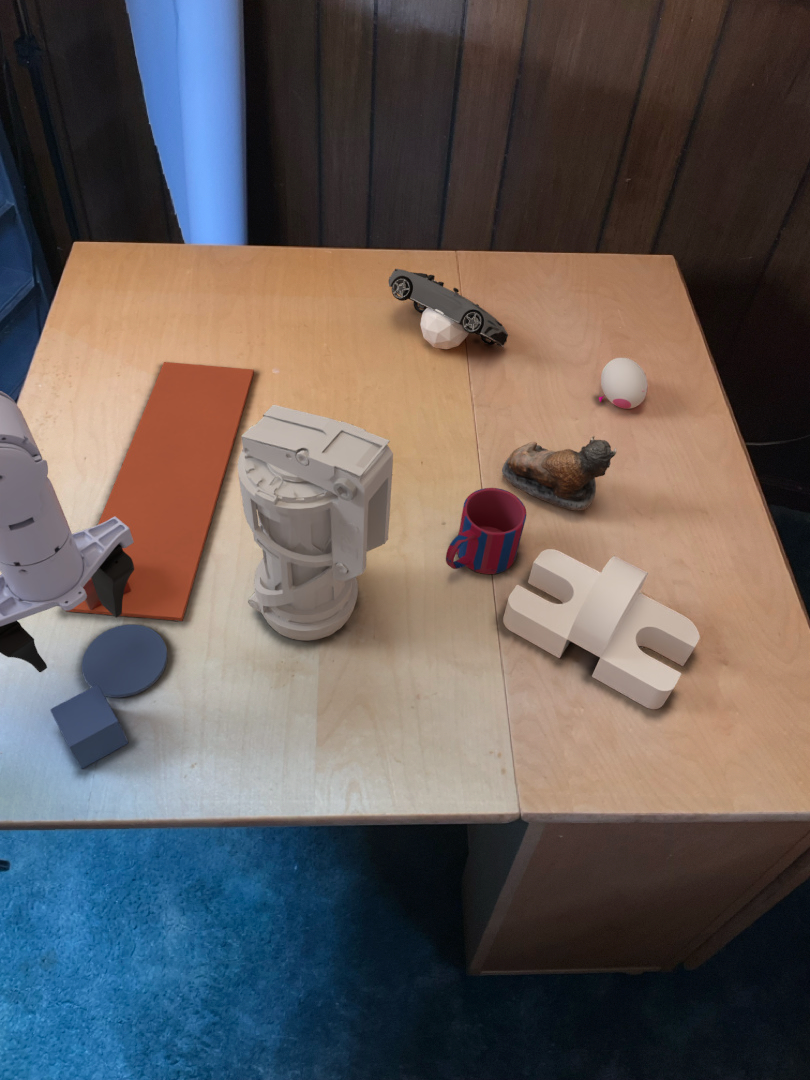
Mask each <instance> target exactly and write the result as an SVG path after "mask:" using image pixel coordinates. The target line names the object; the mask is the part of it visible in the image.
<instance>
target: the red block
mask: <svg viewBox="0 0 810 1080" xmlns="http://www.w3.org/2000/svg"><path fill="white" fill-rule="evenodd" d="M83 589H84V590H85V592H86V594H87V598H86V599H85V600H84V601H85V602H86V604H87V606H88V608H89V609H90V610H92V609H94V608H96V607H99V606H101V605H102V603H101V602H100V600H99V598H98V596H97V593H96V590H95V587H94V584H93V581H92V579H91V578H90V579H89V581H88V582H87V583H86V584H85V586H84V587H83ZM130 591H131V589H130V586H129V584H128V581H127V583H126V586H125V589H124V594H126V593H128V592H130ZM124 594H123V595H124Z"/></svg>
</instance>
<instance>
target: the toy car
mask: <svg viewBox="0 0 810 1080" xmlns="http://www.w3.org/2000/svg"><path fill="white" fill-rule="evenodd" d="M435 277H436V276H435V275H434V274H427V273H423V272H412V271H408V270H405V269H400V268H394V270H393V271H392V273H391V275H390V276H389V277H388V287H390V288H391V294H392V296H393V297H394V298H395V299H396V300H398V301H401V302H404V301H408V300H410V301H412V302H413V304H412V305H413V307H414V309H415V311H416V312H418V313H420V314H421V319H420V323H419V325H420V329H421V333H422V336H423V339H424V340H425V341H427V343H429V344H430V346H431V347H433V348H435V349H441V350H449V349H453V348H456V347H459V346H460V345H461V344H462V342H464V340H466V338H467V337H468V336H469V334H470V335H476V336H480V340H481V342H482V343H484V344H485V345H487V346H494V345H497V346H499V347H500V348H505V344H506V343H507V342H508V341H507V340H508V337H509V334H508V332H507V330H506V328H505V326H503V324H502V323H501V322H500V321H499V320H498V319H497V318H496V317H494V316H493V315H492V314H491V313H489V312H488V311H486V310H485V309H483V308H482V307H481V306H480V305H479V304H478V303H474V302H473V301H471V300H469V299H468V298H466V297H465V296H463V295H461V294H460V293H459V292H460V290H459V288H456V287H453V288H452V289H449V288H446V287H445V286H444V285H445V282H444V281H438V280H435Z"/></svg>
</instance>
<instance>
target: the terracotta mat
mask: <svg viewBox="0 0 810 1080" xmlns="http://www.w3.org/2000/svg"><path fill="white" fill-rule="evenodd" d="M254 370H255V369H252V368H241V367H240V368H239V367H231V366H230V367H229V366H217V365H215V366H214V365H205V364H194V363H193V364H192V363H183V362H181V363H180V362H169V361H163V364H162V366H161V367H160V371H159V373H158V376H157V378H156V381H155V383H154V385H153V388H152V390H151V393H150V396H149V398H148V401H147V402H146V405H145V408H144V411H143V412H142V415H141V418H140V420H139V423H138V425H137V427H136V430H135V432H134V435H133V436H132V437H133V438H132V440H131V442H130V445H129V447H128V449H127V452H126V454H125V457H124V459H123V462H122V464H121V467H120V470H119V471H118V474H117V477H116V480H115V482H114V484H113V487H112V488H111V492H110V494H109V496H108V499H107V500H106V504H105V506H104V508H103V511H102V514H101V516H100V519H99V521H98V523H97V525H99V524H102V523H104V522H106V521H108V520H109V519H111V518H113V517H114V516H115V517H117V518H118V519H119V520H120V521H122V522H123V523H124V524H125V525H126V526H127V527H129V529H130V532H131V535H132V538H133V541H134V543H132V544H131V545H129V546H128V547H126V548H122V549H123V551H124V552H125V553H126V554H127V555H129V556H130V557H131V558H132V561H133V564H134V571H133V572H132V574H131V575H130V577H129V579H128V584H129V586H130V589H131V591H130V592H128V593H126V594H124V595H123V602H122V614H121V615H119V616H118V617H131V618H143V619H153V620H165V621H166V620H167V621H179V622H183V620H184V617H185V614H186V611H187V608H188V607H187V606H188V603H189V599H190V596H191V593H192V589H193V586H194V583H195V578H196V576H197V572H198V569H199V565H200V562H201V558H202V555H203V552H204V551H203V550H204V548H205V544H206V542H207V538H208V534H209V530H210V527H211V523H212V521H213V516H214V513H215V510H216V506H217V503H218V499H219V496H220V493H221V489H222V485H223V482H224V480H225V479H224V478H225V475H226V471H227V468H228V464H229V461H230V458H231V455H232V450H233V447H234V444H235V440H236V437H237V434H238V430H239V428H240V427H239V426H240V423H241V419H242V416H243V413H244V409H245V405H246V402H247V398H248V396H249V392H250V389H251V385H252V382H253V378H254V375H255V371H254ZM68 612H71V613H72V612H73V613H83V614H95V615H106V616H107V615H108V616H114V615H113V614H112V613H110V612H109V611H108V610H107V609H106V608H105V607H104V606H103V605H101V606H99V607H96V608H94V609H92V610H90V609H89V608H88V606H87V604H86V602H85V601H83V602H82V603H80V604H79V605H77V606H76V607H74V608H73V609H71V610H69V611H68Z"/></svg>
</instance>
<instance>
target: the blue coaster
mask: <svg viewBox="0 0 810 1080" xmlns="http://www.w3.org/2000/svg"><path fill="white" fill-rule="evenodd" d="M167 662H168V649H167V645H166V643H165V640H164V639H163V637H162V636H161V635H160V634H159V633H158V632H157V631H155V630H154V629H152V628H150V627H147V626H146V625H141V624H122V625H118V626H115V627H112V628H109V629H107V630H106V631H104V632H102V633H101V634H99V635H98V636H97V637H95V638H94V639H93V640H92V641H91V643H89V645H88V646H87V648H86V650H85V651H84V654H83V657H82V660H81V673H82V676H83V678H84V681H85V683H86V684H87V685H88V687H89V688H92V687H94V686H96V685H99V687H100V689H101V690H102V692H103V694H104V696H105V697H108V698H128V697H131V696H132V697H133V696H134V695H137V694H140V693H142V692H144V691H146V690H147V689H149V688H150V687H152V686H153V685H154V684H155V683H156V682H158V680H159V678H160V677H161V676H162V675H163V673H164V671H165V670H166V667H167Z"/></svg>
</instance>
